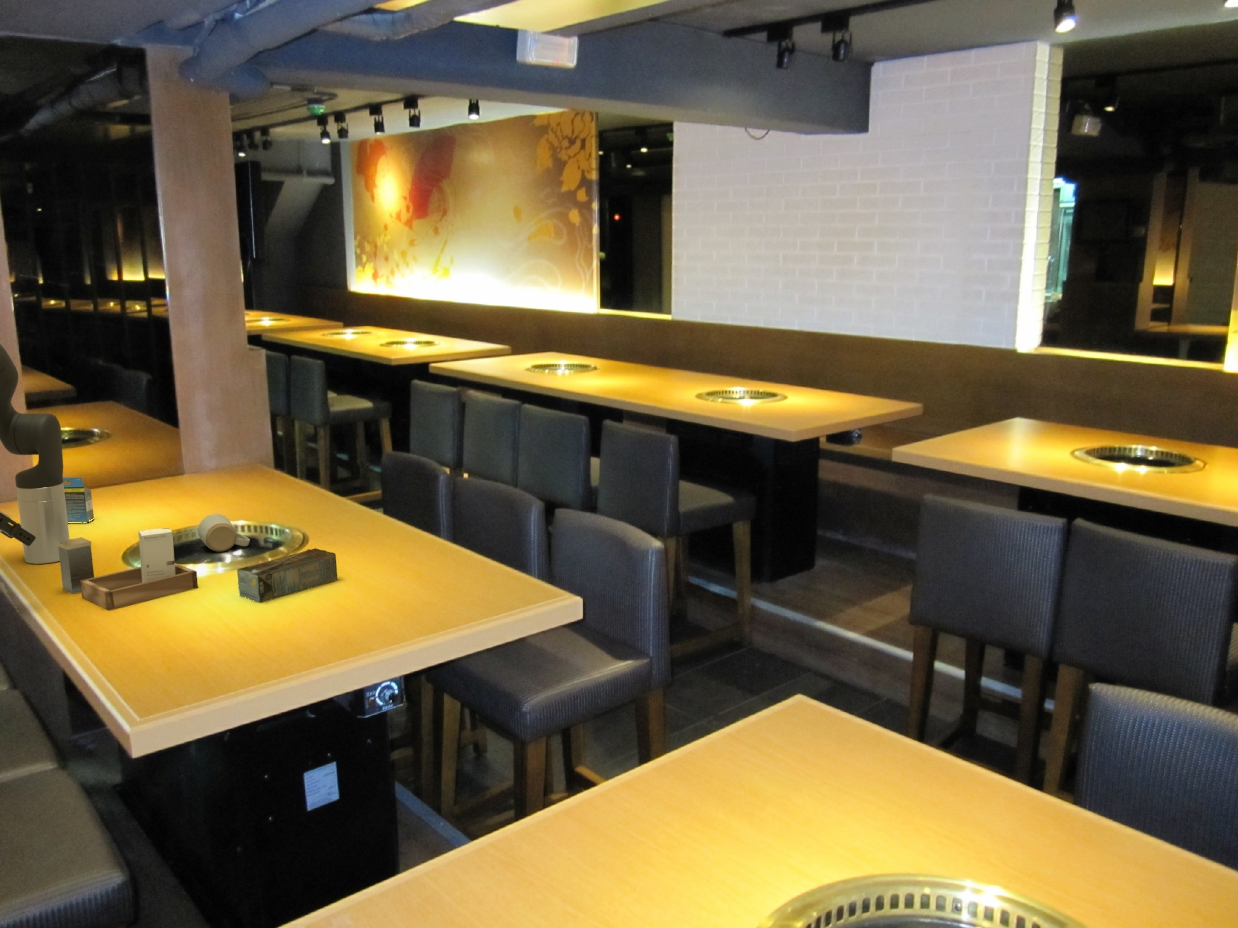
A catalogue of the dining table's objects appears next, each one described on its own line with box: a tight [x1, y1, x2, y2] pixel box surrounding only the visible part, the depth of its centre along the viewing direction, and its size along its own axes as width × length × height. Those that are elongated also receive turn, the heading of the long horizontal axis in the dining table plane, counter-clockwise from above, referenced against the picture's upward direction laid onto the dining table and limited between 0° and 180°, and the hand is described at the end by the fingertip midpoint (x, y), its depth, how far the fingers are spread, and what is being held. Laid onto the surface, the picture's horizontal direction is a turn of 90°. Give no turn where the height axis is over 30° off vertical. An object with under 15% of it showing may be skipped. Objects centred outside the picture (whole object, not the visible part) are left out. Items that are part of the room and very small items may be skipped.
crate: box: [80, 563, 199, 611], centre depth 203 cm, size 12×18×4 cm, turn 141°
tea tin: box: [57, 536, 95, 595], centre depth 205 cm, size 5×5×10 cm
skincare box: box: [138, 527, 175, 583], centre depth 205 cm, size 6×4×12 cm
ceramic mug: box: [197, 513, 251, 553], centre depth 235 cm, size 11×8×8 cm
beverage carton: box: [236, 547, 339, 604], centre depth 206 cm, size 8×19×7 cm, turn 142°
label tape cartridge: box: [63, 477, 95, 522], centre depth 258 cm, size 9×4×12 cm, turn 92°
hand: (23, 538), depth 196 cm, fingers open, 8 cm apart
